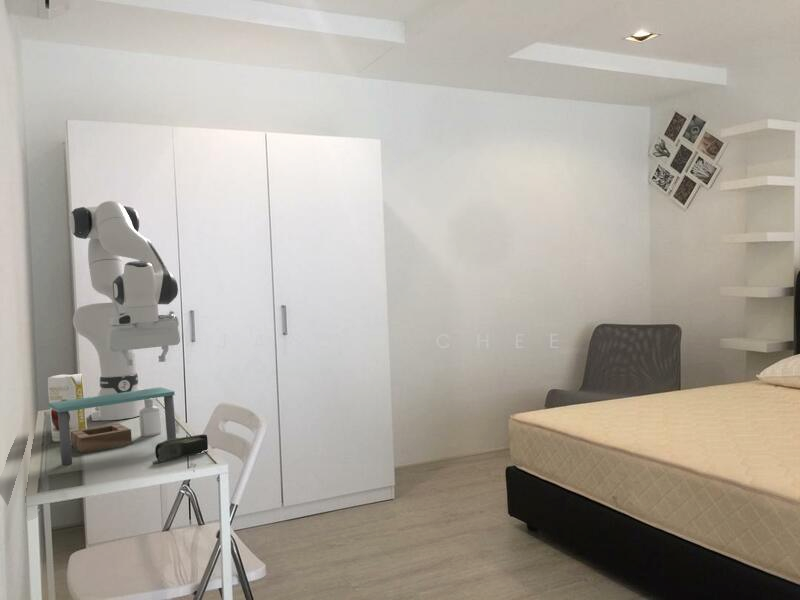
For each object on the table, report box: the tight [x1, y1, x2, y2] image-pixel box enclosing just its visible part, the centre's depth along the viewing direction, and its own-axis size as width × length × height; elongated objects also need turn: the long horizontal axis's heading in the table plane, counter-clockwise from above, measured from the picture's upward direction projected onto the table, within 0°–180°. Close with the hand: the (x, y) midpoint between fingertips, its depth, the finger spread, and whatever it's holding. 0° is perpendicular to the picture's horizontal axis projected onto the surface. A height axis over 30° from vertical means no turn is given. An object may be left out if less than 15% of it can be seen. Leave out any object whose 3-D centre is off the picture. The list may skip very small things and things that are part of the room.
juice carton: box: [47, 373, 88, 443], centre depth 203 cm, size 8×9×19 cm
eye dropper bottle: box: [138, 398, 162, 438], centre depth 203 cm, size 4×6×12 cm
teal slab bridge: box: [48, 386, 177, 466], centre depth 185 cm, size 12×29×14 cm, turn 127°
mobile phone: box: [152, 434, 209, 465], centre depth 174 cm, size 5×3×15 cm
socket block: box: [70, 422, 133, 454], centre depth 194 cm, size 13×13×4 cm
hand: (146, 363), depth 202 cm, fingers open, 8 cm apart
